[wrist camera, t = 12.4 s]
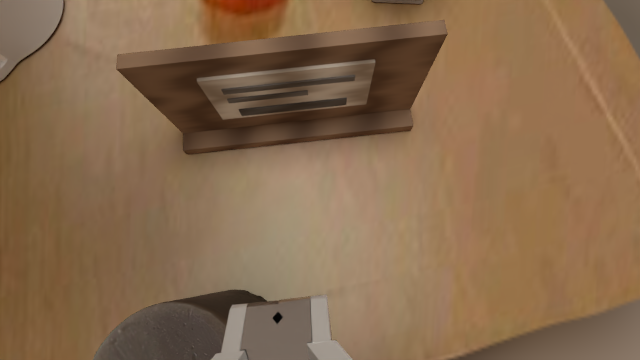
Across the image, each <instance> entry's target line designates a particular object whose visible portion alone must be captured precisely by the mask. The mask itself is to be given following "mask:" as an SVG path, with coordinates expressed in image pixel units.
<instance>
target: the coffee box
mask: <svg viewBox="0 0 640 360" xmlns="http://www.w3.org/2000/svg"><path fill="white" fill-rule="evenodd" d="M372 2H383V3H409V4H422V3H423V0H372Z"/></svg>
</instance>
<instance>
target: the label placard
mask: <svg viewBox="0 0 640 360" xmlns="http://www.w3.org/2000/svg"><path fill="white" fill-rule="evenodd" d="M447 34H448V33H447V29H446V25H445V21H444V20H439V21H429V22H420V23H410V24H401V25H391V26H382V27H373V28H363V29H354V30H344V31H335V32H325V33H316V34H307V35H297V36H288V37H278V38H269V39H259V40H250V41H241V42H231V43H222V44H212V45H203V46H193V47H184V48H175V49H165V50H156V51H146V52H137V53H127V54H118V55H117V66H116V69H117V70H118V71H119V72H120V73H121V74H122V75H123V76H124V77H125V78H126V79H127V80H128V81H129V82H130V83H131V84H132V85H133V86H134V87H135V88H137V89H138V90H139V91H140V92H141V93H142V94H143V95H144V96H145V97H146V98H147V99H148V100H149V101H150V102H151V103H152V104H153V105H154V106H155V107H156V108H157V109H158V110H159V111H160V112H161V113H162V114H164V115H165V116H166V117H167V118H168V119H169V120H170V121H171V122H172V123H173V124H174V125H175V126H176V127H177V128H178V129H179V130H180V131H181V132H182V133H183V151H185V152H186V153H187V154H194V153H204V152H213V151H222V150H232V149H241V148H250V147H260V146H269V145H278V144H287V143H297V142H306V141H315V140H325V139H334V138H343V137H353V136H362V135H371V134H380V133H390V132H399V131H408V130H411V129H412V127H413V121H412V116H411V111H410V108H411V106H412V104H413V102H414V100H415V98H416V96H417V94H418V92H419V90H420V88H421V86H422V84H423V82H424V80H425V78H426V76H427V74H428V72H429V70H430V68H431V66H432V64H433V62H434V60H435V58H436V56H437V54H438V52H439V50H440V48H441V46H442V44H443V42H444V40H445V38H446V36H447Z"/></svg>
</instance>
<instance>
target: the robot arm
mask: <svg viewBox="0 0 640 360" xmlns="http://www.w3.org/2000/svg"><path fill="white" fill-rule="evenodd" d="M62 11H63V0H0V81H1V80H3V79H4V78H5V77H6V76H7V75H8V74H9V73H10V71H11V70H12V69H13V68H14V66H15V65H16V64H17V63H18V62H19V61H20V60H22V59H23V58H25V57H26V56H28V55H29V54H31V53H32V52H34V51H35V50H37V49H38V48H39V47H40V46H41V45H42V44H44V42H45V41H46V40H47V39H48V38H49V37H50V36H51V34H52V33H53V32H54V30H55V29H56V27H57V25H58V23H59V21H60V18H61V15H62ZM211 360H353V359H352V358H351V357H350V356H349V355H348V353H347V352H346V351H345V350H344V349H343V348H342V346H341V345H340V344H339V343H338V342H337V341H336V340H332V334H331V326H330V317H329V309H328V301H327V295H318V296H311V297H310V296H308V297H300V298H292V299H284V300H279V301H268V302H256V303H247V304H236V305H232V306H231V308H230V311H229V315H228V320H227V325H226V330H225V335H224V340H223V345H222V350H221V353H217V354H215V355H214V357H213V358H212V359H211Z"/></svg>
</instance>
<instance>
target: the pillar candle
mask: <svg viewBox="0 0 640 360" xmlns="http://www.w3.org/2000/svg"><path fill="white" fill-rule="evenodd" d="M256 302H267V301H266V300H265V299H264V298H262V297H261V296H256V295H254V294H251V293H249V292H248V291H245V290H228V291H222V292H216V293H211V294H207V295H201V296H196V297H191V298H185V299H180V300H174V301H169V302H163V303H159V304H155V305H152V306H149V307H146V308H144V309H142V310H140V311H138V312H136V313H134V314H132V315H131V316H129V317H128V318H126V319H125V320H124V321H123V322H122V323H121V324H120V325H118V326H117V327H116V328H115V329H114V330H113V331H112V332H111V333H110V334H109V336H108V337H107V338H106V339H105V341H104V342H103V343H102V344H101V346H100V348H99V349H98V351H97V352H96V354H95V356H94V359H93V360H211V359H212V358H213V357H214V355H215V354H217V353H221V350H222V345H223V340H224V335H225V330H226V325H227V320H228V315H229V311H230V308H231V306H232V305H236V304H247V303H256Z"/></svg>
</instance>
